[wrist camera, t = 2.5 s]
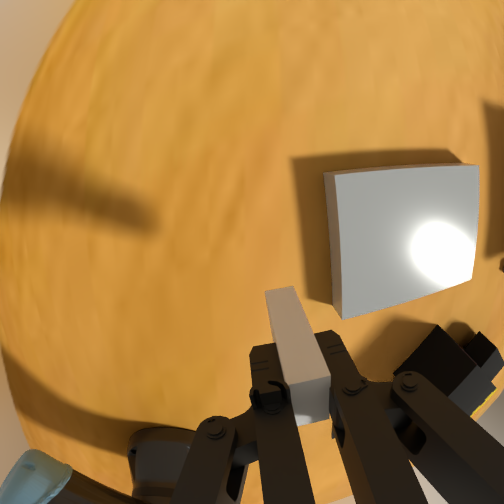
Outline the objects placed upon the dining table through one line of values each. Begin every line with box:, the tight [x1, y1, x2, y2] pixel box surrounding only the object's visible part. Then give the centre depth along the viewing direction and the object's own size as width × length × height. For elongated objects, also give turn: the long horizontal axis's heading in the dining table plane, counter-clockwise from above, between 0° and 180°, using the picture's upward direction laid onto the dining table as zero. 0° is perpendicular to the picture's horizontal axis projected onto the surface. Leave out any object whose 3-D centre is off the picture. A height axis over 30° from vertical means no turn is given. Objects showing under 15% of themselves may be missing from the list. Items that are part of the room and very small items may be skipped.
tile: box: [323, 163, 479, 320], centre depth 22 cm, size 16×12×3 cm
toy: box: [393, 325, 504, 417], centre depth 30 cm, size 16×9×30 cm
